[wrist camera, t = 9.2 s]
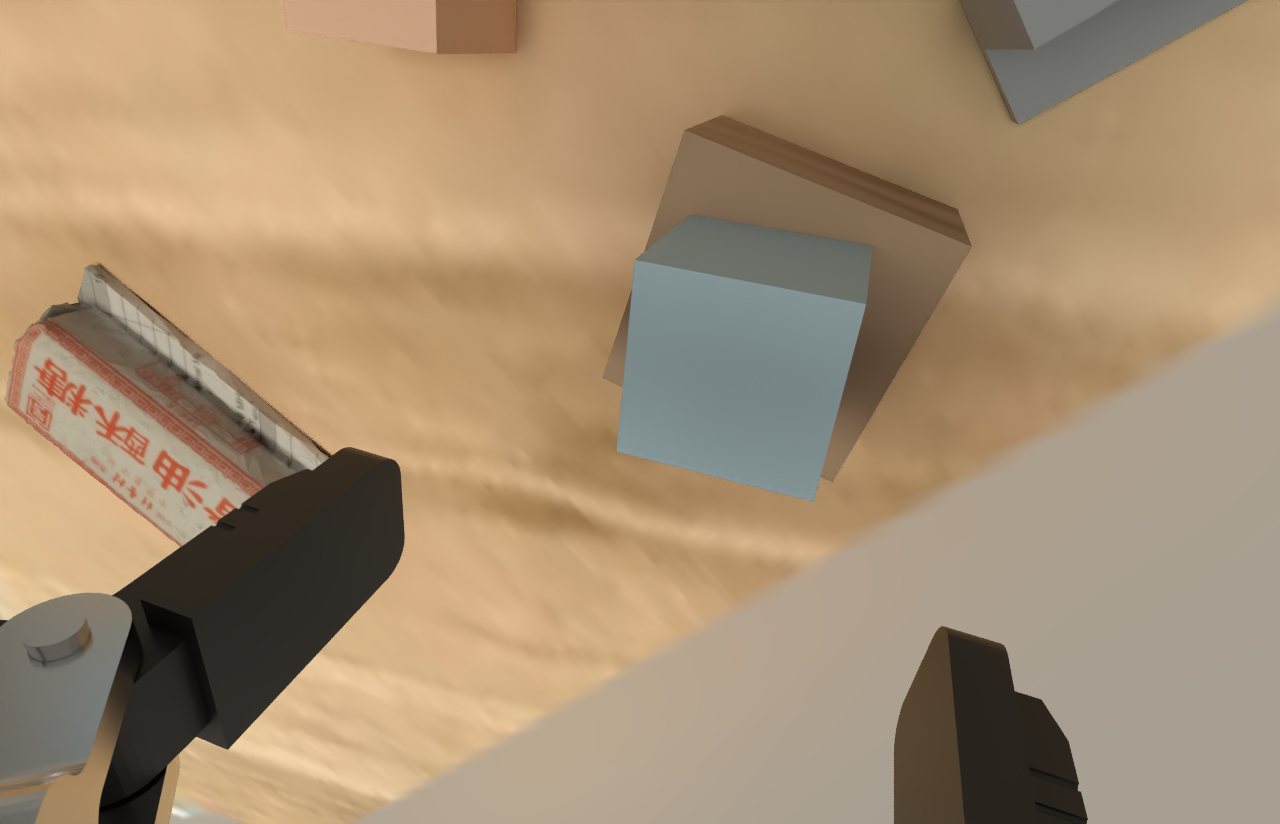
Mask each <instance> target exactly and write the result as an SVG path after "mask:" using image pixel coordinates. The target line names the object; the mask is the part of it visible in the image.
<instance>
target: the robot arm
mask: <svg viewBox="0 0 1280 824" xmlns="http://www.w3.org/2000/svg"><path fill="white" fill-rule="evenodd" d="M403 547H404V520H403V504H402V488H401V473H400V468H399V465H398V464H397V462H396V461H394V460H392V459H389V458H386V457H382V456H379V455H376V454H372V453H369V452H366V451H362V450H359V449H355V448H352V447H347V448H343V449H341V450H339V451H338V452H336V453H335V454H334V455H332V456H331V457H330V458H328V459H327V460H326V461H324V462H323V463H322V464H320V465H319V466H318V467H316V468H315V469H314V470H309V469H305V470H302V471H300V472H297V473H295V474H292V475H290V476H287V477H284V478H282V479H279V480H277V481H274V482H272V483H270V484H268V485H267V486H265V487H264V488H263V489H261V490H260V491H258V492H257V493H256V494H254V495H253V496H251V497H250V498H249V499H247V500H246V501H244V502H243V503H242V504H241V507H240V508H239V509H238V508H235V509H233V510H232V511H231V512H229V513H228V514H226V515H225V516H224V517H222V518H221V519H219V520H218V522H217V525H216V526H212V525H211V526H210V527H208V528H207V529H205V530H204V531H203V532H201V533H200V534H198V535H197V536H196V537H194V538H193V539H191V540H190V541H189V542H187V543H186V544H184V545H183V546H182V547H180V548H179V549H177V550H176V551H175V552H173V553H172V554H170V555H169V556H168V557H166V558H165V559H163V560H162V561H161V562H159V563H158V564H156V565H155V566H154V567H152V568H151V569H149V570H148V571H147V572H145V573H144V574H142V575H141V576H140V577H138V578H137V579H135V580H134V581H133V582H131V583H130V584H128V585H127V586H126V587H124V588H123V589H121V590H120V591H118V592H117V593H115V594H114V595H112V596H111V595H108V594H102V593H80V594H72V595H67V596H62V597H59V598H55V599H51V600H48V601H46V602H43V603H40V604H38V605H35V606H33V607H31V608H29V609H27V610H25V611H23V612H21V613H19V614H18V615H16V616H14V617H13V618H11V619H10V620H0V824H169V821H170V816H171V811H172V806H173V801H174V796H175V791H176V786H177V781H178V776H179V771H180V760H179V755H178V754H179V753H180V752H181V751H182V750H183V749H184V748H185V747H186V746H187V745H188V744H189V743H190V742H191V741H192V740H193V739H194V738H195V737H198V738H201V739H203V740H206V741H208V742H210V743H213V744H215V745H217V746H220V747H222V748H225V749H227V750H228V749H229V748H230V747H231V746H232V745H233V744H234V742H235V741H236V740H237V739H238V738H239V737H240V736H241V735H242V734H243V733H244V732H245V731H246V730H247V729H248V728H249V726H250V725H251V724H252V723H253V722H254V721H255V720H256V719H257V718H258V717H259V716H260V715H261V714H262V713H263V711H264V710H265V709H266V708H267V707H268V706H269V705H270V704H271V703H272V702H273V701H274V700H275V699H276V698H277V696H278V695H279V694H280V693H281V692H282V691H283V690H284V689H285V688H286V687H287V686H288V685H289V684H290V683H291V682H292V680H293V679H294V678H295V677H296V676H297V675H298V674H299V673H300V672H301V671H302V670H303V669H304V668H305V667H306V665H307V664H308V663H309V662H310V661H311V660H312V659H313V658H314V657H315V656H316V655H317V654H318V653H319V652H320V650H321V649H322V648H323V647H324V646H325V645H326V644H327V643H328V642H329V641H330V640H331V639H332V638H333V637H334V636H335V634H336V633H337V632H338V631H339V630H340V629H341V628H342V627H343V626H344V625H345V624H346V623H347V622H348V621H349V619H350V618H351V617H352V616H353V615H354V614H355V613H356V612H357V611H358V610H359V609H360V608H361V607H362V606H363V604H364V603H365V602H366V601H367V600H368V599H369V598H370V597H371V596H372V595H373V594H374V593H375V592H376V591H377V590H378V588H379V587H380V586H381V585H382V584H383V583H384V582H385V581H386V580H387V579H388V578H389V576H390V575H391V574H392V572H393V571H394V569H395V568H396V566H397V564H398V562H399V560H400V557H401V554H402V551H403ZM1078 784H1079V782H1078V778H1077V774H1076V770H1075V766H1074V762H1073V758H1072V754H1071V749H1070V745H1069V742H1068V740H1067V738H1066V737H1065V735H1064V733H1063V732H1062V731H1061V729H1060V727H1059V726H1058V724H1057V723H1056V721H1055V720H1054V718H1053V717H1052V715H1051V714H1050V712H1049V711H1048V709H1047V707H1046V706H1045V704H1044V703H1043V701H1042V700H1041V699H1038V698H1034V697H1031V696H1028V695H1025V694H1022V693H1018V692H1015V691H1014V685H1013V681H1012V675H1011V669H1010V664H1009V658H1008V654H1007V651H1006V648H1005V647H1004V645H1002V644H1000V643H997V642H994V641H990V640H987V639H984V638H980V637H977V636H974V635H970V634H967V633H964V632H960V631H957V630H954V629H950V628H947V627H943V626H942V627H940V628H939V629H938V630H937V631H936V633H935V635H934V637H933V639H932V641H931V643H930V645H929V647H928V650H927V652H926V654H925V656H924V659H923V660H922V663H921V665H920V667H919V669H918V672H917V674H916V676H915V678H914V680H913V683H912V685H911V687H910V689H909V691H908V693H907V696H906V698H905V700H904V702H903V705H902V708H901V712H900V715H899V719H898V724H897V728H896V735H895V744H894V824H1087V820H1088V818H1087V814H1086V810H1085V806H1084V802H1083V798H1082V794H1081V792H1079V791H1078Z"/></svg>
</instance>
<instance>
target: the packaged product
mask: <svg viewBox="0 0 1280 824" xmlns="http://www.w3.org/2000/svg"><path fill="white" fill-rule="evenodd" d="M78 301H79V303H75V304H68V303H64V304H60V305H52V306H51V307H50V308H49V309H48V310H46V311H45V312H44V313H43V314H42V316H41V318H40V319H39V320H38V321H37V322H36V323H35V324H31V325H30V326H29V327H28V329H27V331H26V332H25V334H24V335H23V336H22V337H21V338H20V339H18V340H16V341H15V344H14V347H13V349H14V350H15V357H14V358H13V360H12V363H13V367H12V370H11V371H10V372H9V379H8V382H7V393H6V397H5V401H6V404H7V406H8V407H10V408H12V410H14V411H15V412H16V413H17V414H18V415H19V416H21V417H22V418H23V419H25V421H26V423H27V424H30V425H31V426H32V427H33V428H34V429H35V430H36V431H38V432H39V433H40V434H42V435H43V436H44V437H45V438H46V439H48V440H50V441H51V442H52V443H53V444H54V445H55V446H58V447H59V448H60V450H61V451H62V452H63V453H65V454H66V455H67V456H68V457H69V458H71V459H72V460H73V461H75V462H76V463H77V464H78V465H80V466H81V467H82V468H83V469H84V470H85V471H87V472H88V473H89V474H90V475H91V476H93V477H94V478H95V479H97V480H98V481H99V482H101V483H102V484H103V485H105V486H106V487H107V488H108V489H109V490H110V491H111V492H112V493H114V494H115V495H116V496H117V497H119V498H120V499H121V500H123V501H124V502H125V503H126V504H127V505H129V506H130V507H131V508H132V509H133V510H134V511H136V512H137V513H138V514H140V515H141V516H143V517H144V518H145V519H147V520H148V521H149V522H151V523H152V524H153V525H154V526H155V527H156V528H158V529H159V530H160V531H161V532H163V533H164V534H165V535H166V536H167V537H168V538H169V539H171V540H173V541H175V542H176V543H177V544H178V545H179V546H180V547H182V546H183V545H184V544H186V543H187V542H189V541H190V540H191V539H193V538H194V537H196V536H197V535H198V534H200V533H201V532H203V531H204V530H205V529H207V528H208V527H210V526H211V525H212V526H216V525H217V522H218V520H219V519H221V518H222V517H224V516H225V515H226V514H228V513H229V512H231V511H232V510H233V509H235V508H238V509H239V508H240V507H241V504H242V503H243V502H244V501H246V500H247V499H249V498H250V497H251V496H253V495H254V494H256V493H257V492H258V491H260V490H261V489H263V488H264V487H265V486H267V485H268V484H270V483H272V482H274V481H277V480H279V479H282V478H284V477H287V476H290V475H292V474H295V473H297V472H300V471H302V470H305V469H309V470H314V469H315V468H316V467H318V466H319V465H320V464H322V463H323V462H324V461H326V460H327V459H328V458H329V457H328V456H326V455H325V454H323V453H322V452H321V451H319V450H318V449H317V447H316V446H315V445H314V444H313V443H312V442H311V441H310V439H309V438H307V437H306V436H305V435H303V434H302V433H301V432H300V431H299V430H298V429H296V428H295V427H294V426H293V425H292V424H291V423H289V422H288V421H287V420H286V419H285V418H284V417H282V416H281V415H280V414H279V413H278V412H277V411H275V410H274V409H273V408H272V407H271V406H270V405H268V404H267V403H266V402H265V401H264V400H263V399H261V398H260V397H259V396H258V395H257V394H255V393H254V392H253V391H252V390H250V389H249V388H248V387H247V386H246V385H245V384H244V383H242V382H241V381H240V380H239V379H238V378H237V377H236V376H235V375H234V374H233V373H231V372H230V371H229V370H228V369H227V368H226V367H225V366H223V365H222V364H221V363H220V362H218V361H217V360H215V359H214V358H213V357H212V356H211V355H210V354H209V353H207V352H206V351H205V350H203V349H202V348H200V347H199V346H198V345H196V344H195V343H194V342H192V341H191V340H189V339H188V338H187V337H185V336H184V335H183V334H182V333H181V332H180V331H178V330H177V329H176V328H175V327H174V326H173V325H172V324H170V323H169V322H168V321H166V320H165V319H164V318H162V317H161V316H160V315H158V314H157V313H155V312H154V311H153V310H151V309H150V308H149V307H148V306H147V305H146V304H145V303H144V302H142V301H141V300H140V299H139V298H138V297H137V296H136V295H135V294H134V293H132V292H131V291H130V290H129V289H128V288H127V287H126V286H125V285H123V284H122V283H121V282H119V281H118V280H117V279H115V278H114V277H113V276H111V275H110V274H109V273H107V272H106V271H105V270H104V269H103V268H102V267H101V266H96V265H89V266H87V267H86V268H85V273H84V277H83V280H82V284H81V288H80V291H79V295H78Z"/></svg>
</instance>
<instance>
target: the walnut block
mask: <svg viewBox="0 0 1280 824" xmlns="http://www.w3.org/2000/svg"><path fill="white" fill-rule="evenodd" d="M690 214H691V215H696V216H702V217H708V218H714V219H719V220H725V221H731V222H737V223H743V224H748V225H754V226H760V227H766V228H771V229H777V230H783V231H789V232H795V233H800V234H806V235H812V236H818V237H823V238H829V239H835V240H841V241H847V242H852V243H858V244H864V245H870V246H873V249H872V258H871V267H870V275H869V284H868V293H867V302H866V307H865V311H864V315H863V318H862V322H861V326H860V330H859V334H858V337H857V341H856V345H855V349H854V352H853V356H852V360H851V364H850V367H849V371H848V375H847V379H846V383H845V386H844V390H843V394H842V398H841V401H840V405H839V409H838V413H837V417H836V420H835V424H834V428H833V432H832V435H831V439H830V443H829V447H828V450H827V454H826V458H825V462H824V466H823V469H822V473H821V477H823V478H825V479H827V480H829V481H831V482H833V480H834V479H835V477H836V475H837V473H838V472H839V470H840V468H841V467H842V465H843V463H844V462H845V460H846V458H847V457H848V455H849V453H850V451H851V450H852V448H853V446H854V445H855V443H856V441H857V440H858V438H859V436H860V435H861V433H862V431H863V429H864V428H865V426H866V424H867V423H868V421H869V419H870V418H871V416H872V414H873V412H874V411H875V409H876V407H877V406H878V404H879V402H880V401H881V399H882V397H883V396H884V394H885V392H886V390H887V389H888V387H889V385H890V384H891V382H892V380H893V379H894V377H895V375H896V374H897V372H898V370H899V368H900V367H901V365H902V363H903V362H904V360H905V358H906V357H907V355H908V353H909V352H910V350H911V348H912V346H913V345H914V343H915V341H916V340H917V338H918V336H919V335H920V333H921V331H922V329H923V328H924V326H925V324H926V323H927V321H928V319H929V318H930V316H931V314H932V313H933V311H934V309H935V307H936V306H937V304H938V302H939V301H940V299H941V297H942V296H943V294H944V292H945V291H946V289H947V287H948V285H949V284H950V282H951V280H952V279H953V277H954V275H955V274H956V272H957V270H958V269H959V267H960V265H961V263H962V262H963V260H964V258H965V257H966V255H967V253H968V252H969V250H970V248H971V244H970V241H969V238H968V236H967V233H966V231H965V228H964V225H963V223H962V220H961V218H960V215H959V212H958V210H957V209H955V208H952V207H950V206H947V205H945V204H942V203H940V202H937V201H935V200H932V199H930V198H927V197H925V196H922V195H920V194H917V193H915V192H912V191H910V190H907V189H905V188H902V187H900V186H897V185H895V184H892V183H890V182H887V181H885V180H882V179H880V178H877V177H875V176H872V175H870V174H867V173H865V172H862V171H860V170H857V169H855V168H852V167H850V166H847V165H845V164H842V163H840V162H837V161H835V160H832V159H830V158H827V157H825V156H822V155H820V154H817V153H815V152H812V151H810V150H807V149H805V148H802V147H800V146H797V145H795V144H792V143H790V142H787V141H785V140H782V139H780V138H777V137H775V136H772V135H770V134H767V133H765V132H762V131H760V130H757V129H755V128H752V127H750V126H747V125H745V124H742V123H740V122H737V121H735V120H732V119H730V118H727V117H725V116H722V115H721V116H719V117H716V118H714V119H712V120H709V121H707V122H704V123H702V124H699V125H697V126H694V127H692V128H689V129H687V130H685V131H684V134H683V137H682V140H681V143H680V146H679V149H678V152H677V155H676V158H675V161H674V164H673V167H672V170H671V173H670V176H669V179H668V182H667V185H666V188H665V191H664V194H663V197H662V200H661V203H660V206H659V209H658V212H657V215H656V218H655V221H654V224H653V227H652V230H651V234H650V237H649V240H648V243H647V246H646V249H645V251H647V250H648V249H649V248H650V247H651V246H653V245H654V244H655V243H656V242H658V241H659V240H660V239H661V238H662V237H664V236H665V235H666V234H667V233H668V232H670V231H671V230H672V229H673V228H675V227H676V226H677V225H678V224H679V223H681V222H682V221H683V220H684V219H686V218H687V217H688V216H689V215H690ZM631 296H632V291H631V294H630V297H629V300H628V303H627V306H626V309H625V312H624V315H623V318H622V321H621V324H620V327H619V330H618V333H617V336H616V339H615V342H614V345H613V348H612V351H611V354H610V357H609V360H608V363H607V366H606V369H605V372H604V375H603V378H604V379H606V380H609V381H611V382H613V383H615V384H618V385H620V386H622V387H623V380H624V369H625V359H626V349H627V338H628V328H629V317H630V307H631Z"/></svg>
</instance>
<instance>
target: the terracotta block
mask: <svg viewBox="0 0 1280 824" xmlns="http://www.w3.org/2000/svg"><path fill="white" fill-rule="evenodd" d="M284 8H285V17H286V26H287V30H288V31H294V32H300V33H307V34H313V35H320V36H326V37H332V38H339V39H345V40H351V41H358V42H364V43H370V44H377V45H383V46H390V47H396V48H402V49H409V50H415V51H421V52H428V53H434V54H482V53H516V19H517V0H284Z"/></svg>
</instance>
